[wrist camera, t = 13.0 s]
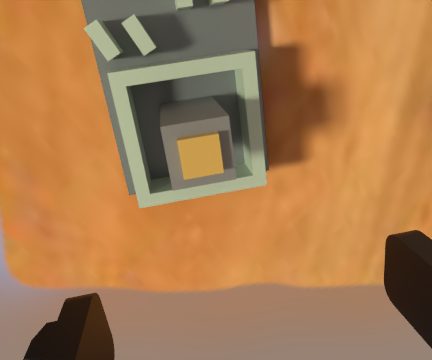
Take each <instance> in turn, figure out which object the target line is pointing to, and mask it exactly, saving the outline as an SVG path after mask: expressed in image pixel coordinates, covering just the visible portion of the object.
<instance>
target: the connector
mask: <svg viewBox="0 0 432 360" xmlns="http://www.w3.org/2000/svg"><path fill="white" fill-rule="evenodd" d="M160 129H161V134H162V139H163V144H164V149H165V154H166V160H167V165H168V170H169V175H170V180H171V185H172V190H173V191H174V190H180V189H185V188H191V187H196V186H202V185H207V184H213V183H218V182H224V181H230V180H235V179H237V178H236V169H235V161H234V153H233V145H232V137H231V129H230V120H229V115H228V114H227V113H226V112H225V111H224V110H223V108H222V107H221V106H220V105H219V104H218V103H217V102H216V101H215V100H214V98H213V97H212V96H206V97H200V98H194V99H188V100H181V101H175V102H169V103H163V104H160Z"/></svg>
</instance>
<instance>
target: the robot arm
mask: <svg viewBox="0 0 432 360" xmlns="http://www.w3.org/2000/svg"><path fill="white" fill-rule="evenodd" d="M384 286H385V290H386V292H387V295H388V297H389V299H390V301H391V302H392V303H393V305H394V306H395V307H396V308H397V309H398V310H399V312H400V313H401V314H402V315H403V316H404V317H405V318H406V319H407V321H408V322H409V323H410V324H411V325H412V326H413V327H414V329H415V330H416V331H417V332H418V333H419V335H420V336H421V337H422V338H423V339H424V340H425V341H426V343H427V344H428V345H429V346H430V347H431V348H432V240H431V239H430V238H429V237H427V236H426V235H425V234H423V233H422V232H420V231H418V230H413V231H408V232H403V233H398V234H393V235H389V236H388V237H387V239H386V247H385V268H384ZM23 360H114V344H113V338H112V334H111V331H110V328H109V325H108V322H107V319H106V315H105V312H104V309H103V306H102V303H101V300H100V297H99V295H98V294H97V293H92V294H87V295H82V296H77V297H72V298H67V299H66V300H65V302H64V304H63V307H62V309H61V312H60V315H59V317H58V320H57V321H54V322H49V323H46V324H45V326H44V327H43V328H42V329H41V330H40V331H39V332H38V334H37V335H36V336H35V337H34V338H33V339H32V340H31V343H30V345H29V347H28V350H27V352H26V355H25V357H24V359H23Z"/></svg>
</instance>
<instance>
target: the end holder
mask: <svg viewBox="0 0 432 360" xmlns="http://www.w3.org/2000/svg"><path fill="white" fill-rule="evenodd" d="M228 70H235V78H236V87H237V96H238V105H239V114H240V123H241V132H242V141H243V150H244V159H245V163H243V164H238V165H235V169H236V178H237V179H235V180H230V181H224V182H218V183H213V184H207V185H202V186H196V187H191V188H185V189H180V190H174V191H173V190H172V185H171V180H170V177H164V178H159V179H153V180H151V178H150V173H149V169H148V164H147V160H146V155H145V151H144V146H143V141H142V137H141V132H140V128H139V123H138V119H137V114H136V109H135V105H134V100H133V96H132V91H131V87H130V86H132V85H138V84H145V83H151V82H157V81H164V80H170V79H177V78H183V77H190V76H196V75H203V74H209V73H215V72H222V71H228ZM107 75H108V79H109V83H110V87H111V91H112V95H113V100H114V104H115V108H116V112H117V116H118V120H119V125H120V129H121V133H122V137H123V141H124V146H125V150H126V154H127V158H128V162H129V166H130V171H131V175H132V179H133V183H134V187H135V191H136V196H137V200H138V204H139V208H144V207H149V206H155V205H160V204H166V203H171V202H177V201H182V200H188V199H193V198H198V197H204V196H209V195H215V194H220V193H226V192H231V191H237V190H242V189H248V188H253V187H259V186H264V185H267V181H266V169H265V158H264V147H263V136H262V124H261V113H260V102H259V91H258V79H257V68H256V57H255V51H251V50H241V51H234V52H227V53H221V54H214V55H208V56H201V57H194V58H188V59H181V60H174V61H168V62H161V63H155V64H148V65H141V66H135V67H128V68H121V69H115V70H112V71H110V72H109V73H107Z"/></svg>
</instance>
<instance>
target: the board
mask: <svg viewBox="0 0 432 360" xmlns="http://www.w3.org/2000/svg"><path fill="white" fill-rule="evenodd" d="M81 1H82V5H83V9H84V13H85V17H86V21H87V25H88V26H86V27H85V28H84V30H85V31H86V32H87V34H88V35H89V36H90V38H91V41H92V46H93V50H94V54H95V58H96V62H97V66H98V70H99V74H100V78H101V82H102V86H103V90H104V94H105V98H106V102H107V106H108V110H109V114H110V118H111V122H112V126H113V130H114V134H115V139H116V143H117V147H118V151H119V155H120V159H121V163H122V167H123V171H124V175H125V179H126V183H127V187H128V191H129V195H133V194H136V191H135V187H134V183H133V179H132V175H131V171H130V166H129V162H128V158H127V154H126V150H125V146H124V141H123V137H122V133H121V129H120V125H119V120H118V116H117V112H116V108H115V104H114V100H113V95H112V91H111V87H110V83H109V79H108V75H107V73H109V72H110V71H112V70H115V69H121V68H128V67H135V66H141V65H148V64H155V63H161V62H168V61H174V60H181V59H188V58H194V57H201V56H208V55H214V54H221V53H227V52H234V51H241V50H251V51H255V57H256V68H257V79H258V91H259V102H260V113H261V124H262V136H263V147H264V158H265V169H266V170H269V167H268V156H267V144H266V132H265V121H264V109H263V97H262V85H261V74H260V62H259V50H258V39H257V27H256V15H255V3H254V0H81ZM130 87H131V91H132V96H133V100H134V105H135V109H136V114H137V119H138V123H139V128H140V132H141V137H142V141H143V146H144V151H145V155H146V160H147V164H148V169H149V173H150V178H151V180H153V179H159V178H164V177H170V175H169V170H168V165H167V160H166V154H165V149H164V144H163V139H162V134H161V129H160V104H163V103H169V102H175V101H181V100H188V99H194V98H200V97H206V96H212V97H213V98H214V100H215V101H216V102H217V103H218V104H219V105H220V106H221V107H222V108H223V110H224V111H225V112H226V113H227V114H228V115H229V120H230V129H231V137H232V145H233V153H234V161H235V165H238V164H243V163H245V159H244V150H243V141H242V132H241V123H240V114H239V105H238V96H237V87H236V78H235V70H228V71H222V72H215V73H209V74H203V75H196V76H190V77H183V78H177V79H170V80H164V81H157V82H151V83H145V84H138V85H132V86H130Z"/></svg>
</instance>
